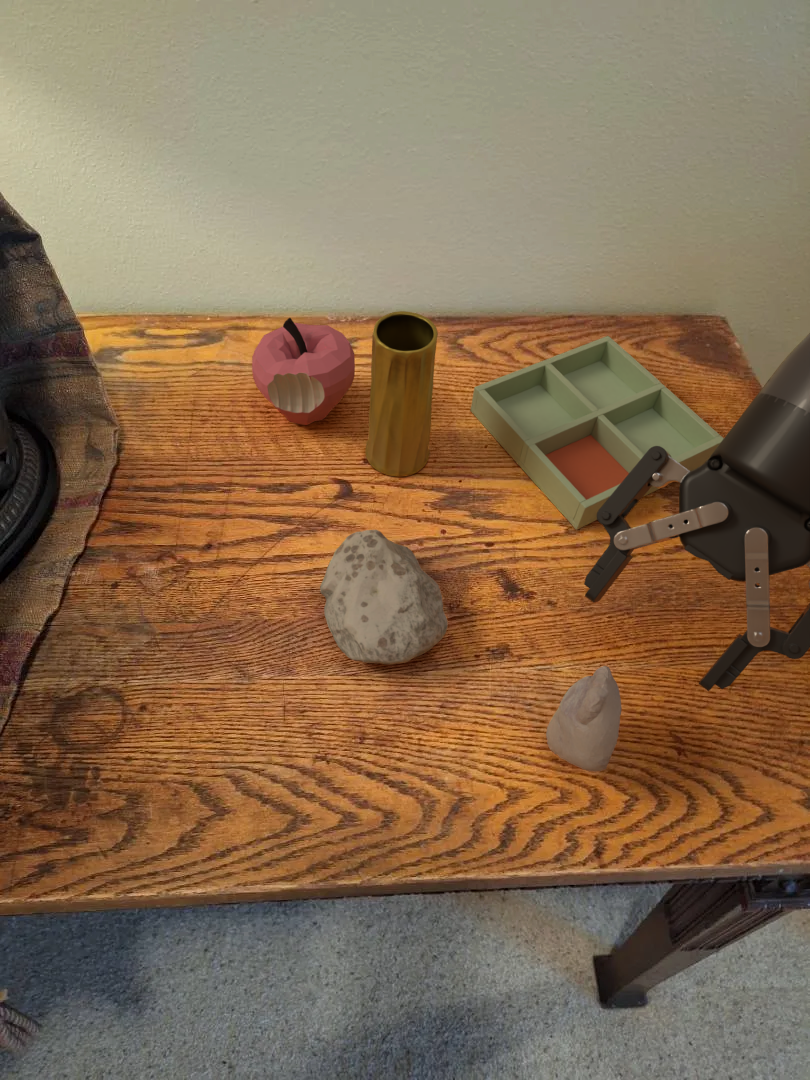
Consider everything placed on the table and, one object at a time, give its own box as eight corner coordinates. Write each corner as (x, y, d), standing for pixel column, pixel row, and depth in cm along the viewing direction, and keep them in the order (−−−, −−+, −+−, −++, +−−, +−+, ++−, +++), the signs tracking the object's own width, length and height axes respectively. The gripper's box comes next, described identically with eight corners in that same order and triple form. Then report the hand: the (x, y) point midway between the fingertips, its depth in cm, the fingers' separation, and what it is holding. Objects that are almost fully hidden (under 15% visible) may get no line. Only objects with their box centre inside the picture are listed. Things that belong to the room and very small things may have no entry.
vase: (371, 481, 67) (374, 359, 55) (360, 433, 70) (361, 310, 59) (435, 474, 68) (451, 352, 56) (421, 427, 71) (434, 304, 60)
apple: (248, 436, 69) (234, 353, 61) (271, 376, 75) (260, 292, 66) (346, 450, 69) (345, 369, 61) (363, 389, 74) (363, 306, 66)
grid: (712, 462, 71) (726, 439, 68) (576, 530, 65) (585, 508, 62) (599, 359, 79) (608, 335, 76) (470, 410, 73) (474, 386, 71)
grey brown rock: (595, 791, 51) (640, 739, 43) (546, 790, 51) (582, 739, 43) (583, 712, 55) (622, 652, 47) (537, 712, 55) (569, 651, 46)
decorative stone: (478, 615, 59) (487, 582, 55) (385, 703, 54) (387, 674, 50) (373, 528, 64) (374, 492, 60) (278, 602, 59) (272, 568, 55)
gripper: (706, 347, 41) (540, 574, 45) (957, 488, 36) (743, 731, 40) (715, 376, 48) (570, 572, 52) (928, 498, 43) (748, 706, 47)
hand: (646, 641), depth 46 cm, fingers open, 8 cm apart
